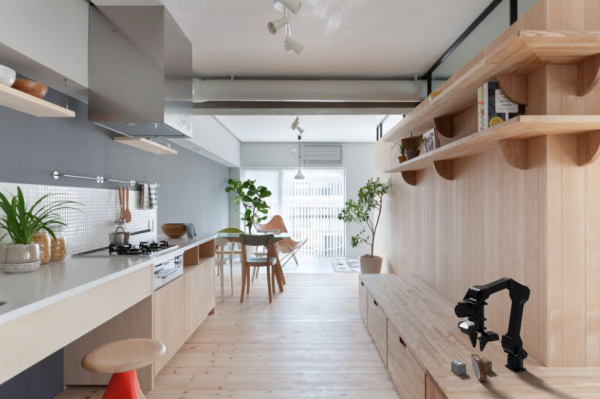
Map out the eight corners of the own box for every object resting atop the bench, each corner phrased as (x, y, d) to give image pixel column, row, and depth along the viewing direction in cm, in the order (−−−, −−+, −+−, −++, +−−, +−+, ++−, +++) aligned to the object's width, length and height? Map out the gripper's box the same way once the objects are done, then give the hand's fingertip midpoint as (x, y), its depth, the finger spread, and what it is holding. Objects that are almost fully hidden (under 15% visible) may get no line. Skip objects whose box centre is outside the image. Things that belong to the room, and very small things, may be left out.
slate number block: (459, 369, 170) (458, 359, 170) (466, 373, 166) (466, 363, 166) (451, 370, 169) (451, 360, 169) (458, 375, 164) (458, 365, 164)
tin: (487, 384, 156) (487, 365, 156) (479, 384, 156) (479, 364, 156) (477, 368, 170) (477, 350, 170) (470, 368, 171) (470, 350, 171)
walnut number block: (484, 366, 172) (484, 356, 172) (491, 371, 168) (491, 360, 168) (476, 368, 171) (476, 358, 171) (484, 372, 167) (484, 362, 167)
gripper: (448, 311, 170) (448, 344, 170) (479, 324, 152) (479, 361, 152) (467, 308, 173) (467, 340, 173) (499, 320, 155) (500, 357, 155)
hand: (477, 349), depth 163 cm, fingers open, 4 cm apart
